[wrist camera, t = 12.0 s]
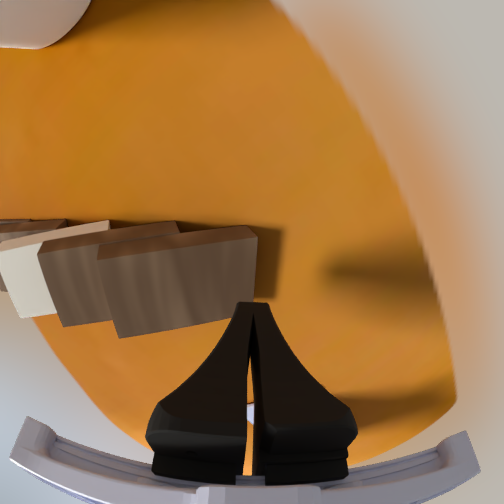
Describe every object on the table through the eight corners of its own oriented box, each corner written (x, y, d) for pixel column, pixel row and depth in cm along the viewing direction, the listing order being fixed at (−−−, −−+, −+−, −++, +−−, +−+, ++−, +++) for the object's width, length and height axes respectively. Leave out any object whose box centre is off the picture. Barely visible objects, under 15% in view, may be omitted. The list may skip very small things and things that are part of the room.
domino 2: (107, 230, 14) (-7, 253, 11) (123, 302, 17) (20, 318, 14) (108, 219, 15) (1, 241, 13) (122, 287, 18) (25, 304, 15)
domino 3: (179, 231, 14) (36, 254, 11) (186, 307, 17) (63, 327, 14) (174, 220, 16) (43, 241, 13) (180, 292, 18) (66, 310, 15)
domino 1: (55, 229, 14) (-20, 235, 13) (74, 295, 17) (0, 291, 16) (66, 218, 16) (-8, 225, 15) (82, 282, 18) (9, 280, 17)
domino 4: (257, 237, 14) (96, 260, 12) (252, 312, 17) (118, 338, 14) (246, 225, 16) (99, 245, 13) (242, 297, 18) (117, 320, 15)
